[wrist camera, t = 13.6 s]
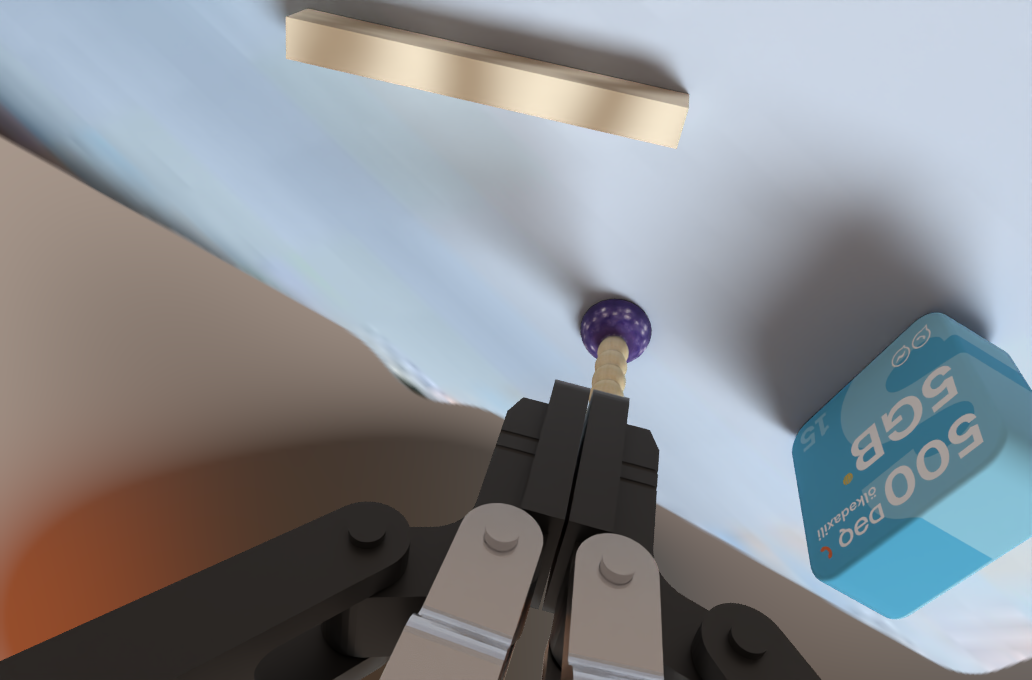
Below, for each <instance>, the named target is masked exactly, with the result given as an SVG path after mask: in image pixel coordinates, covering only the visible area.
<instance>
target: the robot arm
mask: <svg viewBox="0 0 1032 680" xmlns="http://www.w3.org/2000/svg"><path fill="white" fill-rule="evenodd" d="M590 390H591V388H587V387H583V386H579V385H575V384H571V383H568V382H564V381H560V380H555V383H554V387H553V391H552V394H551V398H550V402H549V404H547V403H543V402H539V401H535V400H532V399H528V398H524V397H523V398H522V399H521V400H520V401H519V402H517V403H516V404H515V405H514V406H513V407H512V408H510V409H509V410H508V411H507V414H506V417H505V420H504V423H503V426H502V429H501V433H500V435H499V438H498V441H497V444H496V447H495V449H494V452H493V455H492V458H491V461H490V464H489V467H488V470H487V473H486V476H485V479H484V482H483V484H482V488H481V490H480V493H479V496H478V499H477V502H476V504H475V506H474V508H473V509H472V510H471V511H470V512H469V513H468V514H467V515H466V516H465V517H464V518H462V519H461V520H459V521H457V522H455V523H452V524H449V525H445V526H440V527H409V524H408V522H407V521H406V519H405V518H404V516H403V515H402V514H400V513H399V512H398V511H397V510H395V509H394V508H392V507H390V506H388V505H384V504H382V503H376V502H358V503H354V504H350V505H347V506H345V507H342V508H340V509H338V510H336V511H333V512H331V513H329V514H327V515H324V516H323V517H320V518H318V519H316V520H313V521H311V522H309V523H307V524H304V525H302V526H300V527H298V528H296V529H293V530H291V531H289V532H287V533H284V534H282V535H280V536H278V537H276V538H273V539H271V540H269V541H267V542H264V543H262V544H260V545H258V546H256V547H253V548H251V549H249V550H247V551H245V552H242V553H240V554H238V555H235V556H234V557H231V558H229V559H227V560H224V561H222V562H220V563H218V564H216V565H213V566H211V567H209V568H207V569H204V570H202V571H200V572H198V573H195V574H193V575H191V576H189V577H187V578H184V579H182V580H180V581H178V582H175V583H173V584H171V585H169V586H167V587H164V588H162V589H160V590H158V591H155V592H153V593H151V594H149V595H147V596H144V597H142V598H140V599H138V600H135V601H133V602H131V603H129V604H126V605H125V606H122V607H120V608H118V609H115V610H113V611H111V612H109V613H106V614H104V615H102V616H100V617H98V618H96V619H93V620H91V621H89V622H86V623H84V624H82V625H80V626H78V627H75V628H73V629H71V630H69V631H66V632H64V633H62V634H60V635H58V636H56V637H53V638H51V639H49V640H46V641H44V642H42V643H40V644H38V645H35V646H33V647H31V648H29V649H26V650H24V651H22V652H20V653H18V654H15V655H13V656H11V657H9V658H7V659H4V660H2V661H0V680H361V679H362V678H364V677H365V676H367V675H369V674H370V673H372V672H373V671H375V670H377V669H378V668H380V667H381V666H383V665H384V664H385V663H386V662H387V661H388V660H389V661H388V663H387V665H386V667H385V670H384V671H383V674H382V676H381V678H380V680H504V678H505V675H506V672H507V669H508V666H509V662H510V659H511V656H512V653H513V650H514V647H515V643H516V641H517V640H518V639H519V638H520V636H521V634H522V632H523V629H524V626H525V622H526V619H527V615H528V611H529V608H530V607H532V608H535V609H538V608H539V605H540V602H541V598H542V595H543V592H544V588H545V585H546V582H547V578H548V575H549V578H548V583H547V589H546V593H545V598H544V603H543V608H542V610H544V611H547V612H551V613H554V619H553V624H552V629H551V634H550V637H549V640H548V643H547V646H546V649H545V654H544V661H543V670H542V680H821V679H820V678H819V676H818V675H817V674H816V673H815V671H814V670H813V669H812V668H811V666H810V665H809V664H808V663H807V662H806V660H805V659H804V658H803V657H802V656H801V654H800V653H799V652H798V651H797V649H796V648H795V647H794V646H793V644H792V643H791V642H790V641H789V640H788V638H787V637H786V636H785V635H784V633H783V632H782V631H781V630H780V629H779V627H777V625H776V624H775V623H774V622H773V621H772V620H771V619H769V618H768V617H767V616H765V615H764V614H763V613H761V612H759V611H757V610H755V609H753V608H751V607H748V606H746V605H742V604H736V603H725V604H720V605H717V606H715V607H713V608H712V609H711V610H710V611H708V610H707V609H705V608H703V607H701V606H700V605H698V604H696V603H695V602H693V601H691V600H689V599H687V598H686V597H684V596H683V595H681V594H680V593H678V592H677V591H676V590H675V589H674V588H672V587H671V586H670V585H669V584H668V582H667V581H666V580H665V579H664V578H663V576H662V575H661V573H660V572H659V570H658V567H657V564H656V562H655V560H654V555H653V543H654V527H655V509H656V494H657V491H656V488H657V478H658V474H657V472H658V462H659V449H658V447H657V445H656V443H655V440H654V438H653V436H652V434H651V432H650V430H647V429H643V428H640V427H636V426H632V425H628V424H627V417H628V409H629V398H626V397H622V396H619V395H615V394H611V393H607V392H603V391H599V390H595V389H594V390H593V392H592V395H591V399H590V402H589V406H588V409H587V405H588V400H589V395H590ZM586 411H587V413H586ZM550 568H551V569H550ZM549 571H550V574H549Z"/></svg>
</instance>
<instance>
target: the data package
mask: <svg viewBox="0 0 1032 680" xmlns="http://www.w3.org/2000/svg"><path fill="white" fill-rule="evenodd" d="M792 455H793V462H794V468H795V474H796V480H797V486H798V492H799V498H800V504H801V510H802V516H803V522H804V528H805V534H806V541H807V547H808V553H809V559H810V565H811V569H812V572H813V574H814V575H815V577H816V578H817V579H818V580H820V581H822V582H823V583H825V584H827V585H829V586H831V587H832V588H834V589H836V590H838V591H840V592H841V593H843V594H845V595H847V596H849V597H850V598H852V599H854V600H856V601H858V602H859V603H861V604H863V605H865V606H867V607H868V608H870V609H872V610H874V611H876V612H877V613H879V614H881V615H883V616H885V617H887V618H890V619H902V618H905V617H907V616H909V615H911V614H912V613H914V612H915V611H917V610H918V609H920V608H922V607H923V606H925V605H926V604H928V603H929V602H931V601H932V600H934V599H936V598H937V597H939V596H940V595H942V594H943V593H945V592H946V591H948V590H950V589H951V588H953V587H954V586H956V585H957V584H959V583H960V582H962V581H964V580H965V579H967V578H968V577H970V576H971V575H973V574H974V573H976V572H978V571H979V570H981V569H982V568H984V567H985V566H987V565H988V564H990V563H992V562H993V561H995V560H996V559H998V558H999V557H1001V556H1002V555H1004V554H1006V553H1007V552H1009V551H1010V550H1012V549H1013V548H1015V547H1016V546H1018V545H1020V544H1021V543H1023V542H1024V541H1026V540H1027V539H1029V538H1030V537H1032V390H1031V388H1030V387H1029V385H1028V384H1027V382H1026V380H1025V379H1024V377H1023V376H1022V374H1021V373H1020V371H1019V369H1018V368H1017V366H1016V365H1015V363H1014V362H1013V360H1012V359H1011V357H1010V356H1009V354H1008V353H1006V352H1005V351H1004V350H1002V349H1000V348H999V347H997V346H995V345H994V344H992V343H991V342H989V341H987V340H986V339H984V338H982V337H981V336H979V335H978V334H976V333H974V332H973V331H971V330H969V329H968V328H966V327H965V326H963V325H961V324H960V323H958V322H956V321H955V320H953V319H952V318H950V317H948V316H947V315H945V314H943V313H937V312H935V313H930V314H927V315H925V316H923V317H921V318H919V319H918V320H917V321H915V322H914V323H913V324H912V325H911V326H910V327H909V328H908V329H907V330H906V331H904V332H903V333H902V334H901V335H900V336H899V337H898V338H897V339H896V340H895V341H894V342H893V343H892V344H890V345H889V346H888V347H887V348H886V349H885V350H884V351H883V352H882V353H881V354H880V355H879V356H878V357H876V358H875V359H874V360H873V361H872V362H871V363H870V364H869V365H868V366H867V367H866V368H865V369H864V370H862V371H861V372H860V373H859V374H858V375H857V376H856V377H855V378H854V379H853V380H852V381H851V382H850V383H848V384H847V385H846V386H845V387H844V388H843V389H842V390H841V391H840V392H839V393H838V394H837V395H836V396H834V397H833V398H832V399H831V400H830V401H829V402H828V403H827V404H826V405H825V406H824V407H823V408H821V409H820V410H819V411H818V412H817V413H816V414H815V415H814V416H813V417H812V418H811V419H810V420H809V421H807V422H806V423H805V424H804V426H803V427H802V428H801V429H800V431H799V432H798V434H797V436H796V438H795V441H794V444H793V448H792Z"/></svg>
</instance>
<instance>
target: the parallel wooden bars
mask: <svg viewBox="0 0 1032 680" xmlns="http://www.w3.org/2000/svg"><path fill="white" fill-rule="evenodd" d="M286 59H290V60H294V61H299V62H303V63H307V64H312V65H316V66H320V67H325V68H329V69H333V70H338V71H342V72H346V73H350V74H355V75H359V76H363V77H368V78H372V79H376V80H381V81H385V82H389V83H394V84H398V85H402V86H407V87H411V88H415V89H420V90H424V91H428V92H433V93H437V94H441V95H446V96H450V97H454V98H459V99H463V100H467V101H472V102H476V103H480V104H484V105H489V106H493V107H497V108H502V109H506V110H510V111H515V112H519V113H523V114H528V115H532V116H536V117H541V118H545V119H549V120H554V121H558V122H562V123H567V124H571V125H575V126H580V127H584V128H588V129H593V130H597V131H601V132H606V133H610V134H614V135H619V136H623V137H627V138H631V139H636V140H640V141H644V142H649V143H653V144H657V145H662V146H666V147H670V148H675V149H677V146H678V142H679V139H680V136H681V132H682V129H683V126H684V122H685V119H686V115H687V112H688V109H689V94H685V93H681V92H676V91H672V90H668V89H663V88H659V87H654V86H650V85H645V84H641V83H637V82H632V81H628V80H623V79H619V78H614V77H610V76H605V75H601V74H597V73H592V72H588V71H583V70H579V69H574V68H570V67H566V66H561V65H557V64H552V63H548V62H543V61H539V60H535V59H530V58H526V57H521V56H517V55H512V54H508V53H503V52H499V51H495V50H490V49H486V48H481V47H477V46H472V45H468V44H464V43H459V42H455V41H450V40H446V39H441V38H437V37H433V36H428V35H424V34H419V33H415V32H410V31H406V30H401V29H397V28H393V27H388V26H384V25H379V24H375V23H370V22H366V21H362V20H357V19H353V18H348V17H344V16H339V15H335V14H330V13H326V12H322V11H317V10H313V9H308V8H307V9H305V10H302V11H299V12H297V13H294V14H292V15H289V16H286Z"/></svg>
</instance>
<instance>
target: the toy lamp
mask: <svg viewBox="0 0 1032 680" xmlns="http://www.w3.org/2000/svg"><path fill="white" fill-rule="evenodd" d="M581 337H582V341H583V344H584V346H585V347H586V349H587V350H588V352H589V353H590V354H591V355H592V356H593V357H595V358H596V359H597V360H596V363H595V373H594V375H593V378H592V388H591V390H590V395H589V402H590V399H591V395H592V392H593V390H594V389H595V390H599V391H603V392H607V393H611V394H615V395H619V396H622V397H624V395H623V390H624V388H625V383H626V379H625V374H626V371H627V363H628V362H631V361H633V360H634V359H636V358H638V357H639V356H640V355H641V354H642V353H643V352H644V350H645V349H646V348H647V346H648V344H649V341H650V338H651V324H650V321H649V319H648V317H647V316H646V314H645V312H644V311H643V310H641V309H640V308H639V307H638V306H637V305H635V304H633V303H631V302H628V301H625V300H621V299H609V300H604V301H601V302H599V303H597V304H595V305H593V306H592V307H591V308H590V309H589V310H588V311H587V312H586V314H585V315H584V316H583V319H582V322H581ZM587 409H588V408H587ZM586 413H587V412H586Z"/></svg>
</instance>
